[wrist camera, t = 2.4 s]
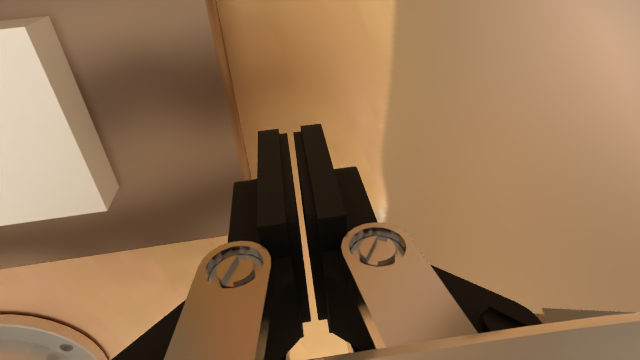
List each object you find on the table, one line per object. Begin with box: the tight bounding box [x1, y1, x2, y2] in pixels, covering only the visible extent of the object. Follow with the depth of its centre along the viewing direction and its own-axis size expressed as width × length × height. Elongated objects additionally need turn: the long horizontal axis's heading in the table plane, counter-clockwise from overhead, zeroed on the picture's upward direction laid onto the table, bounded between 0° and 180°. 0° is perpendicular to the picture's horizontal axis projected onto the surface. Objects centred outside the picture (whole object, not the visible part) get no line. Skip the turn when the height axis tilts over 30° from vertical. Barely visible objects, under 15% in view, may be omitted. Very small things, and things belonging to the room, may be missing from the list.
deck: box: [0, 0, 251, 269], centre depth 19 cm, size 16×16×4 cm
